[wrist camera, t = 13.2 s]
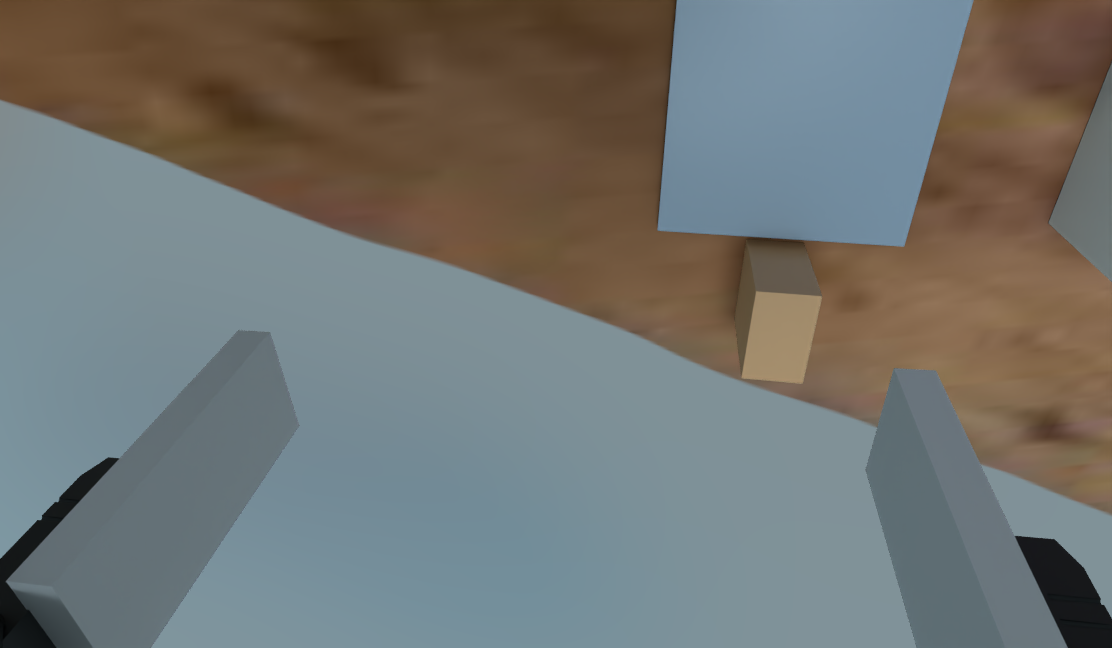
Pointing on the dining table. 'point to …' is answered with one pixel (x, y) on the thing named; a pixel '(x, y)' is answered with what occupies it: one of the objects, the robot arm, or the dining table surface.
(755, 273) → the lid
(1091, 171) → the tub
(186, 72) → the dining table surface
